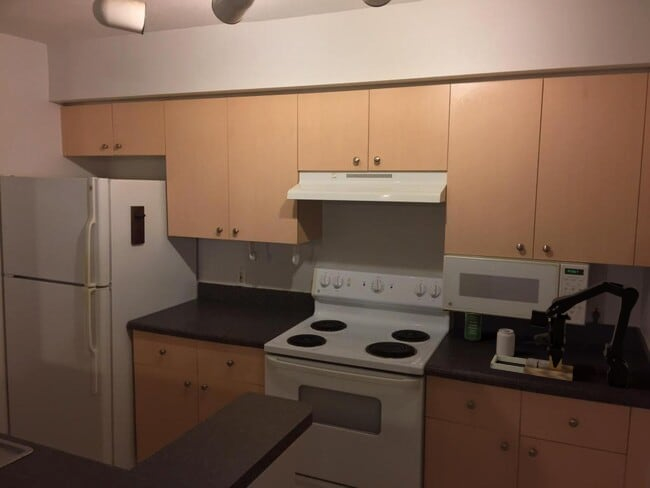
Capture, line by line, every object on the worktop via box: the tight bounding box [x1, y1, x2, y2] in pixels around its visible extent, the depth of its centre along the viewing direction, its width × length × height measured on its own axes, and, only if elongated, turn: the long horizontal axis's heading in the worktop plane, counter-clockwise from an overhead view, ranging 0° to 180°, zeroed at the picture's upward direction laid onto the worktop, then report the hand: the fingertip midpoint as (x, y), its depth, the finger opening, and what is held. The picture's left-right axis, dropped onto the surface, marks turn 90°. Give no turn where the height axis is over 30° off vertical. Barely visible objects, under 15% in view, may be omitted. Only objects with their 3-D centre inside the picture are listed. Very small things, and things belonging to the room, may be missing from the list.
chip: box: [538, 359, 549, 370], centre depth 215 cm, size 4×4×4 cm
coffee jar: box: [464, 312, 483, 342], centre depth 260 cm, size 10×8×19 cm
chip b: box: [525, 357, 540, 368], centre depth 217 cm, size 4×4×4 cm
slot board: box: [522, 358, 574, 382], centre depth 215 cm, size 18×12×3 cm, turn 64°
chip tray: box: [490, 353, 528, 374], centre depth 222 cm, size 13×12×3 cm
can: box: [495, 328, 516, 357], centre depth 236 cm, size 8×8×12 cm
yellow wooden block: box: [548, 355, 563, 372], centre depth 213 cm, size 4×4×8 cm
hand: (555, 366), depth 213 cm, fingers closed on yellow wooden block, 4 cm apart
